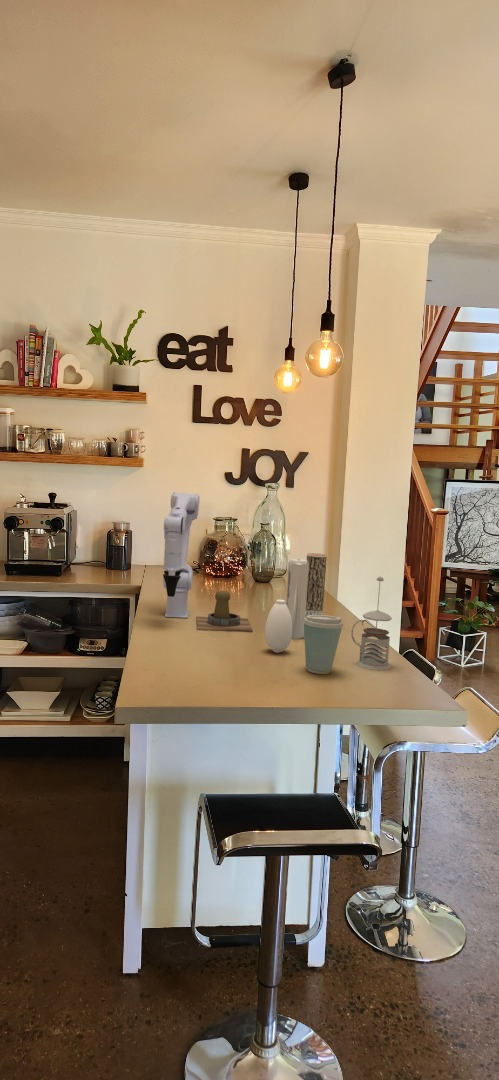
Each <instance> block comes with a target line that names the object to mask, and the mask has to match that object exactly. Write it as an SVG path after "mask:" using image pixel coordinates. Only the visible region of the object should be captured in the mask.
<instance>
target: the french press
mask: <svg viewBox="0 0 499 1080" xmlns="http://www.w3.org/2000/svg"><path fill="white" fill-rule="evenodd" d="M376 581H377V582H379V584H378V585H379V586H378V593H381V592H380V590H381V582H384V577H383V576H377V578H376ZM379 604H380V594H378V600H377V606H380V605H379ZM362 617H363V618H364V619H366V620H370V621H375V622H376V624H375V625H376V626H375V627H366V628H363V629H362V630H363V632H364V633H362V634H361V644H360V643H359V642H357V640H355V638H354V628H355V626H356V625H357V624H359V623H361V622H362V623H361V626H364V620H363V619H359V620H357V621H355V623H354V624H353V626H352V628H351V639H352V641H353V643H354V644H355V645H356V646H358V647H359V648H360V649H359V659H358V660H357V661H356V662H355V664H356V666H358V667H360V668H363V667H364V668H363V669H368V670H375V671H382V670H383V671H385V670H389V669H391V668H392V665H390V662H389V655H390V654H389V653H390V652H389V650H390V640H391V639H390V638H391V637H390V636H388V635H389V633H390V631H389V630H387V629H382V628H377V627H378V622H390V621H391V620H392V619H393V618H392V616H390V615H389V614H388V613H386V612H384V611H380V610H379V607H377V610H370V611H367V612H365V613H364V614H362ZM372 637H373V638H372ZM375 638H376V639H375Z"/></svg>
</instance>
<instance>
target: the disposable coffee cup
mask: <svg viewBox="0 0 499 1080" xmlns="http://www.w3.org/2000/svg"><path fill="white" fill-rule="evenodd" d="M342 620H343V619H342V617H340V616H333V615H326V614H323V615H308V616H306V617H305V618H304V620H303V623H304V654H305V656H304V657H305V666H306V671H307V672H309V673H312V674H318V675H319V674H320V675H325V674H330V673H331V670H332V668H333V665H334V660H335V656H336V653H337V648H338V645H339V640H340V637H341V636H340V635H341V632H342V628H344V622H343V621H342Z"/></svg>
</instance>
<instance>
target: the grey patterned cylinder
mask: <svg viewBox="0 0 499 1080" xmlns="http://www.w3.org/2000/svg"><path fill="white" fill-rule="evenodd" d="M327 558H328V556H327V554H325V553H318V552H317V553H316V552H315V553H314V552H309V553H308V552H307V554H306V560H307V563H309V571H308V586H307V601H306V615H305V617H306V616H308V615H324V613H323V612H324V603H325V602H324V601H325V585H326V584H325V583H326V574H327V573H326V572H327Z"/></svg>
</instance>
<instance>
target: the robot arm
mask: <svg viewBox="0 0 499 1080" xmlns="http://www.w3.org/2000/svg"><path fill="white" fill-rule="evenodd" d="M199 509H200V495H199V494H198V493H186V492H185V493H184V492H183V493H182V492H181V493H180V492H174V491H173V492H172V494H171V497H170V512H169V515H168V516H167V517H165V518H164V520H163V534H164V535H163V539H164V551H163V552H164V553H163V554H164V555H163V566H162V568H163V574H162V576H163V581H162V582H163V583H162V585H163V588H164V589H165V590H166V595H167V596H166V610H165V613H164V617H165V618H184V619H185V618H186V619H187V618H189V611H188V600H189V599H188V597H189V595H188V594H189V591H191V590H192V589H193V585H194V583H193V582H194V571H193V567H191V566H190V565H189V564H188V563H187V559H188V552H189V551H188V549H189V543H190V542H189V541H190V533H191V526H192V523H193V521H195V520H197V519H198V515H199Z"/></svg>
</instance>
